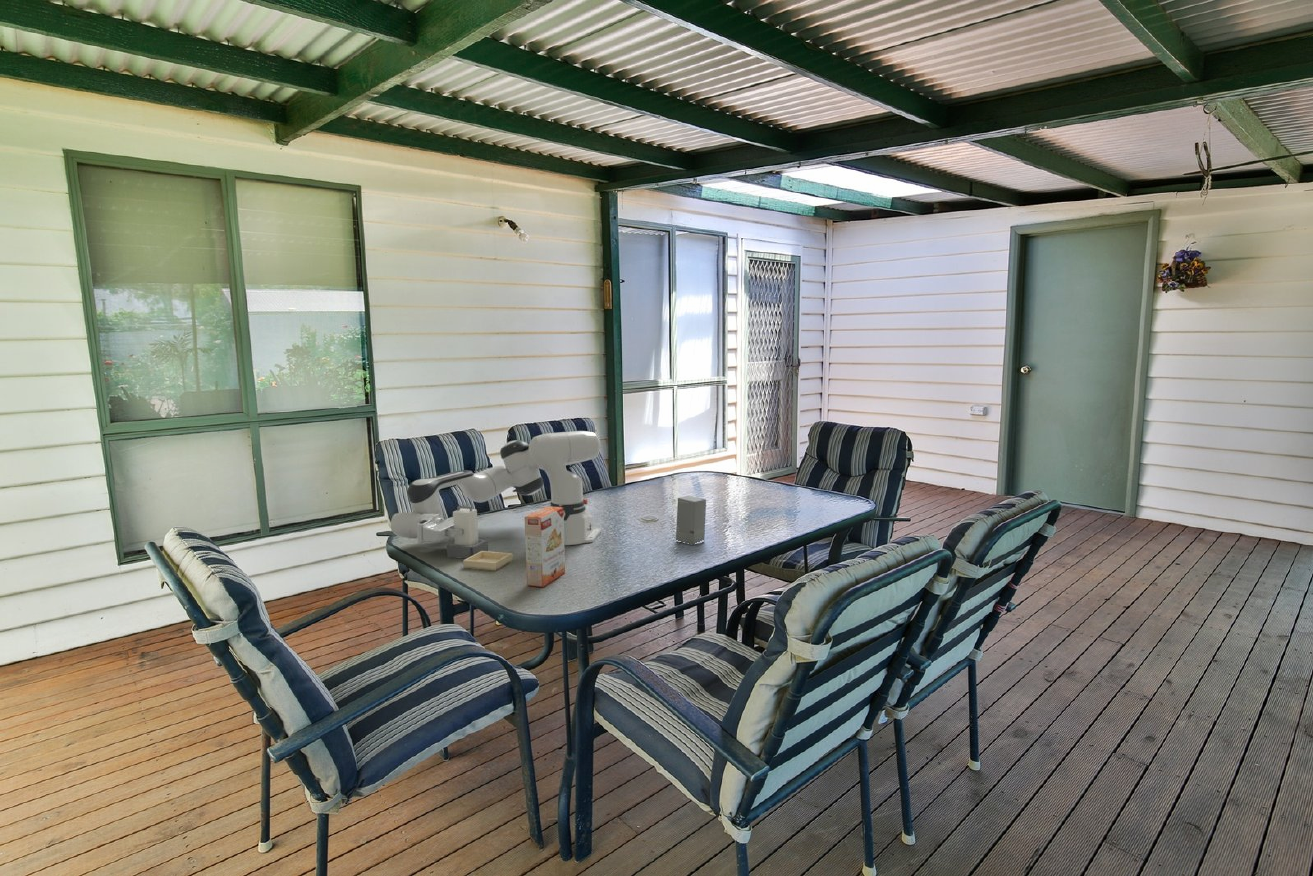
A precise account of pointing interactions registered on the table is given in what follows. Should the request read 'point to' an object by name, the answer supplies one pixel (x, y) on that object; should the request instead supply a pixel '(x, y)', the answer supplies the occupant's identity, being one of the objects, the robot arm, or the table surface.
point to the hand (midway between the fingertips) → (468, 529)
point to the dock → (466, 549)
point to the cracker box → (544, 546)
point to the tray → (488, 560)
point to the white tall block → (466, 526)
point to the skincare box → (690, 519)
